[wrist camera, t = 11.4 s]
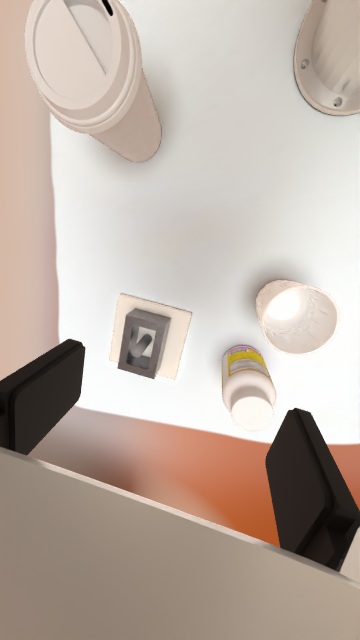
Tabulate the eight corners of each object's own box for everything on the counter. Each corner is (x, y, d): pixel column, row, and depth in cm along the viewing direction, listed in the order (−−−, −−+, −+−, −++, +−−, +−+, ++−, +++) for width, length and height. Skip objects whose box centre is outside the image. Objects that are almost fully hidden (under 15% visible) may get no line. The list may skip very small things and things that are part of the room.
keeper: (121, 293, 39) (102, 302, 33) (192, 312, 38) (186, 325, 32) (111, 357, 43) (93, 375, 37) (175, 376, 42) (167, 398, 36)
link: (135, 308, 38) (125, 314, 34) (171, 317, 38) (165, 325, 34) (127, 357, 41) (117, 368, 37) (160, 366, 41) (154, 379, 37)
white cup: (276, 337, 37) (295, 368, 27) (240, 302, 36) (246, 322, 27) (319, 301, 34) (356, 322, 25) (281, 263, 34) (304, 269, 24)
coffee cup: (178, 165, 32) (144, 102, 18) (114, 182, 34) (37, 136, 20) (165, 80, 30) (114, -71, 16) (96, 103, 32) (-4, -12, 18)
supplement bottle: (248, 387, 40) (260, 448, 28) (214, 368, 40) (210, 420, 28) (272, 357, 38) (296, 409, 26) (236, 336, 38) (242, 378, 26)
